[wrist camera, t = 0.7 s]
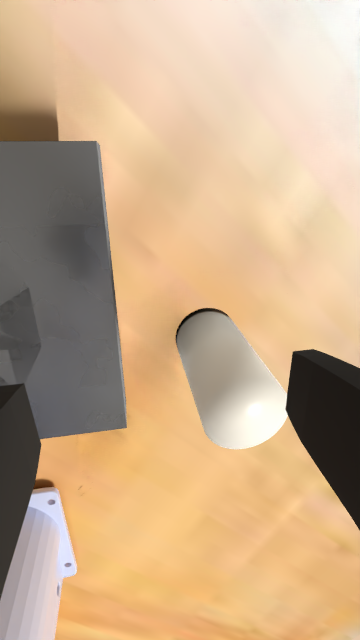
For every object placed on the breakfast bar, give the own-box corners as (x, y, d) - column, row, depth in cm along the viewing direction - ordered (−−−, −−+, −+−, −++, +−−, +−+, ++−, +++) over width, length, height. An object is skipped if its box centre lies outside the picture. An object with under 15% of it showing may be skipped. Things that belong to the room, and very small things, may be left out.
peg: (233, 359, 20) (283, 443, 14) (176, 364, 20) (202, 454, 14) (236, 305, 19) (294, 372, 13) (174, 310, 18) (203, 382, 12)
